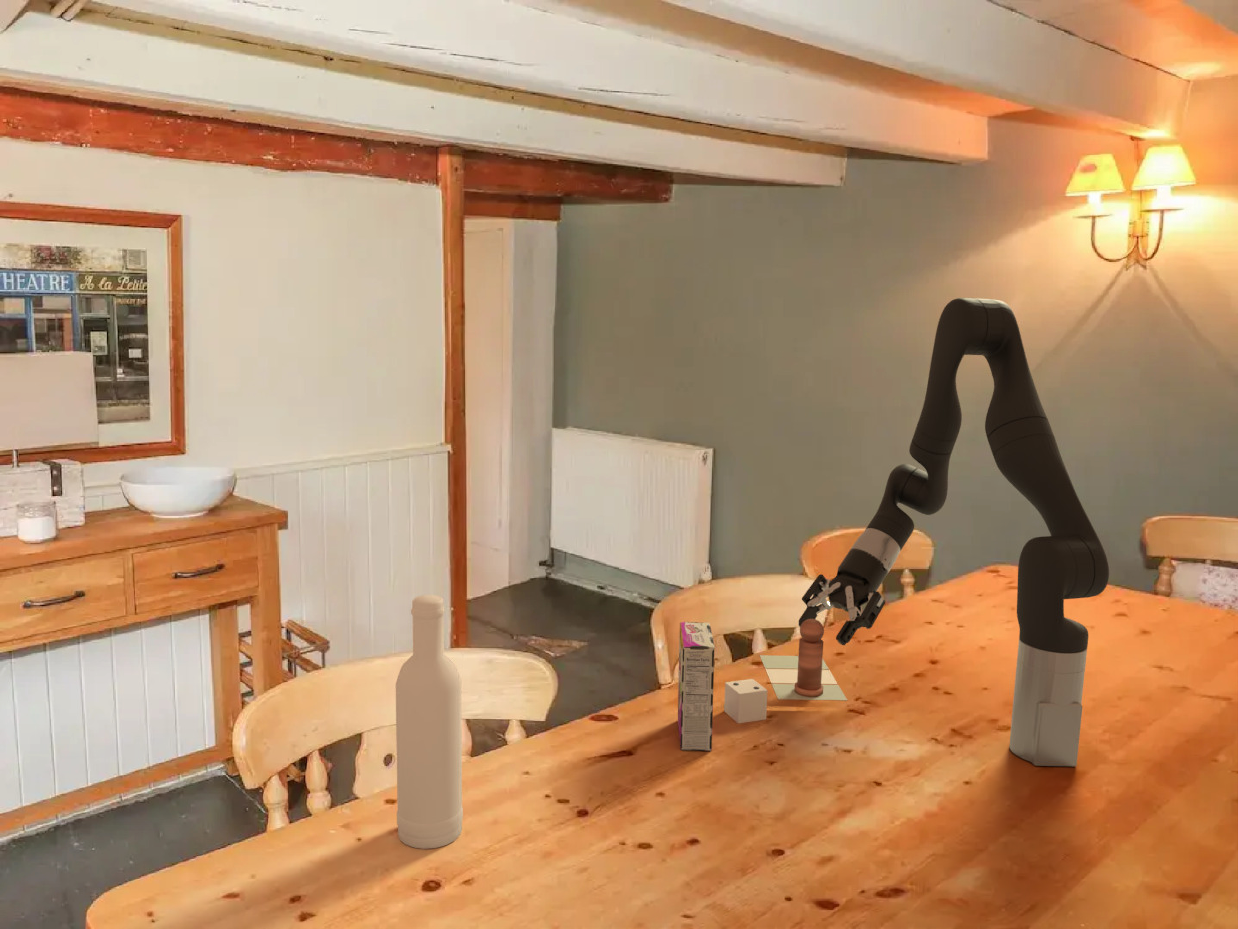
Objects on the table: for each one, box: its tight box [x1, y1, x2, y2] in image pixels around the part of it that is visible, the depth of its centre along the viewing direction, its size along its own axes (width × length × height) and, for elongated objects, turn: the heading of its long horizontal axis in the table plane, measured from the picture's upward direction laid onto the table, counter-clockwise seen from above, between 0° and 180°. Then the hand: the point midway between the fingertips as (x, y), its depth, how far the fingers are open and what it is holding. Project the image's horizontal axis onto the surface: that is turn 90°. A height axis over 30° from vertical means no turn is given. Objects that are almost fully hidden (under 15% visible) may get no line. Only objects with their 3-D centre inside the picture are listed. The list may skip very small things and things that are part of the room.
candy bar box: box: [677, 621, 715, 752], centre depth 149 cm, size 11×5×16 cm, turn 179°
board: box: [759, 654, 848, 701], centre depth 174 cm, size 22×13×1 cm, turn 0°
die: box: [723, 678, 769, 724], centre depth 158 cm, size 5×5×5 cm
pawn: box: [794, 619, 825, 697], centre depth 166 cm, size 5×5×13 cm
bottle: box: [395, 594, 464, 850], centre depth 119 cm, size 8×8×30 cm
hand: (820, 635), depth 166 cm, fingers open, 8 cm apart
